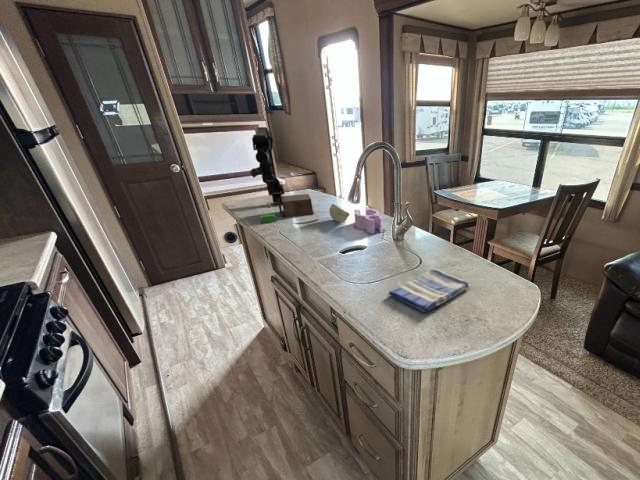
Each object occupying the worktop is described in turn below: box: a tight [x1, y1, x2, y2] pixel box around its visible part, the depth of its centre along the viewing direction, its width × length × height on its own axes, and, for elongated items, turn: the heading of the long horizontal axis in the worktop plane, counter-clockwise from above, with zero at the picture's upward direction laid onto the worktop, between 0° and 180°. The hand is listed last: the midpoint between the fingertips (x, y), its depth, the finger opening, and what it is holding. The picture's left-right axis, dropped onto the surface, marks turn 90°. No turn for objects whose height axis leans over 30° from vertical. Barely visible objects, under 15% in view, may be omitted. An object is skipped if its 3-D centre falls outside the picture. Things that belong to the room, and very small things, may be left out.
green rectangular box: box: [260, 213, 276, 224], centre depth 174 cm, size 4×6×3 cm, turn 110°
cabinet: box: [281, 193, 314, 218], centre depth 185 cm, size 16×13×9 cm
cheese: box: [329, 203, 351, 224], centre depth 172 cm, size 15×7×15 cm
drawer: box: [267, 198, 284, 216], centre depth 184 cm, size 20×11×7 cm, turn 110°
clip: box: [354, 207, 384, 235], centre depth 164 cm, size 20×12×7 cm, turn 29°
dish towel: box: [388, 268, 470, 314], centre depth 109 cm, size 17×24×3 cm
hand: (271, 191), depth 177 cm, fingers open, 9 cm apart
